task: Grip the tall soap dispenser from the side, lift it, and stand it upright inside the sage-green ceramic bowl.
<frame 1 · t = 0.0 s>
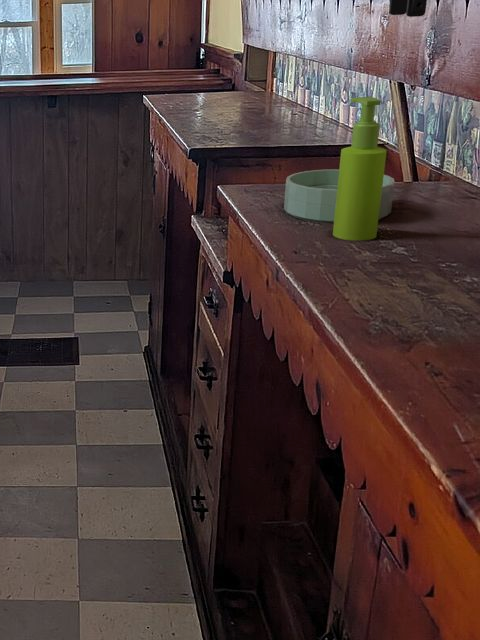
hand: (406, 15, 118), 30 cm above the worktop, tool pointing down, fingers open, 8 cm apart
bowl: (336, 212, 141), on the worktop
soap dispenser: (351, 241, 126), on the worktop
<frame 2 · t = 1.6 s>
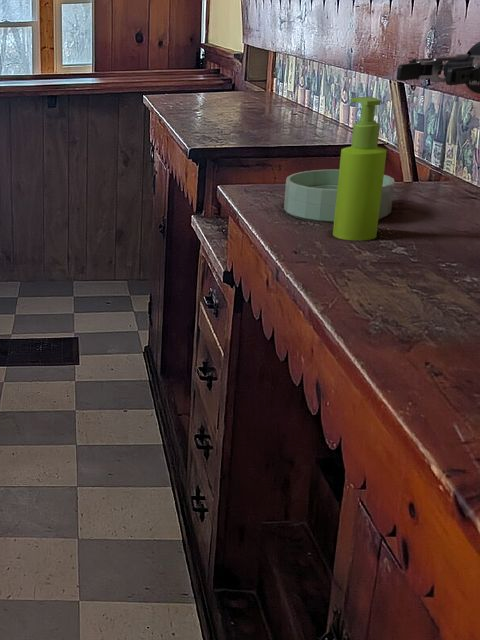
hand: (423, 74, 120), 22 cm above the worktop, tool horizontal, fingers open, 8 cm apart
nothing on the worktop moved.
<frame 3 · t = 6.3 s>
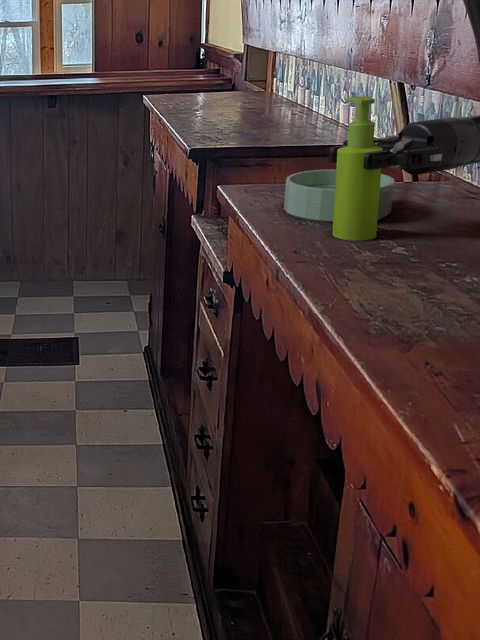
hand: (348, 158, 120), 12 cm above the worktop, tool horizontal, fingers closed on soap dispenser, 6 cm apart
soap dispenser: (352, 240, 126), on the worktop, touching gripper
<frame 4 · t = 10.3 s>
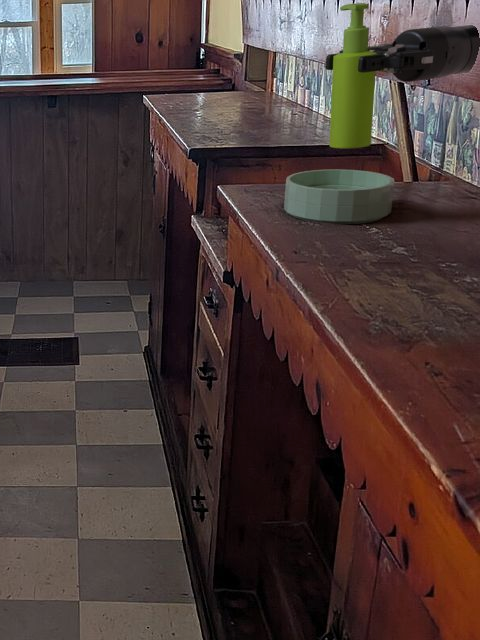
hand: (343, 63, 126), 24 cm above the worktop, tool horizontal, fingers closed on soap dispenser, 6 cm apart
soap dispenser: (348, 145, 132), point 12 cm above the worktop, touching gripper
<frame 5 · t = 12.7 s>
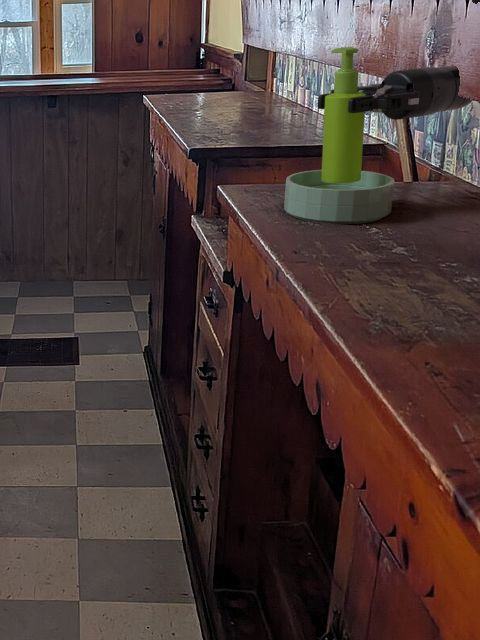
hand: (334, 104, 133), 17 cm above the worktop, tool horizontal, fingers closed on soap dispenser, 6 cm apart
soap dispenser: (339, 180, 139), point 5 cm above the worktop, touching gripper
when the fingers open (13 cm above the worktop, at t = 14.6 s): soap dispenser stays where it is, resting on bowl.
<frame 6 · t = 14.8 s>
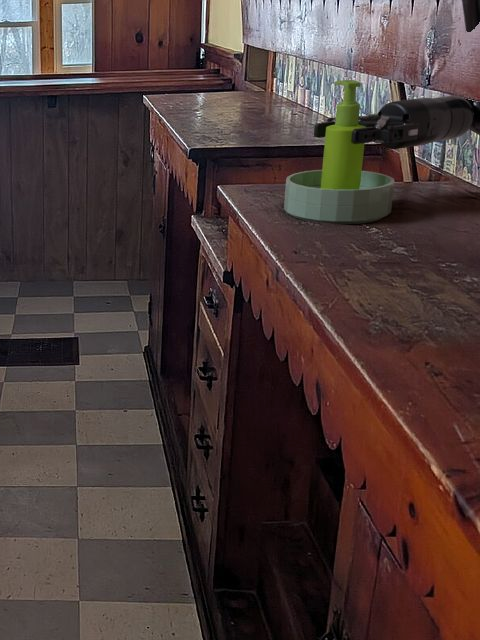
hand: (334, 133, 135), 13 cm above the worktop, tool horizontal, fingers open, 7 cm apart
soap dispenser: (336, 210, 141), resting on bowl
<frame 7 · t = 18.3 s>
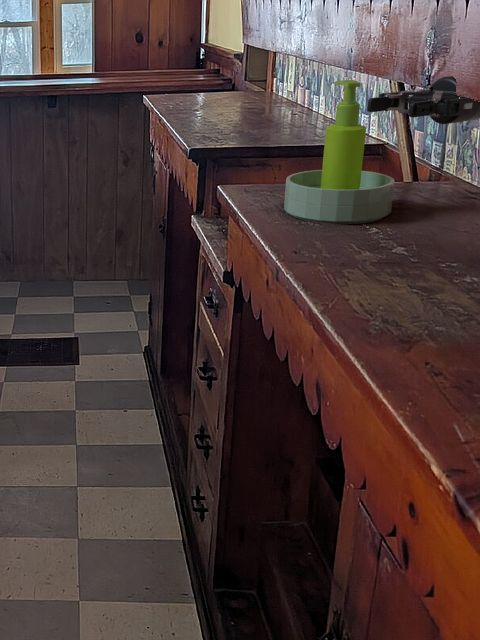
hand: (389, 107, 137), 16 cm above the worktop, tool horizontal, fingers open, 8 cm apart
nothing on the worktop moved.
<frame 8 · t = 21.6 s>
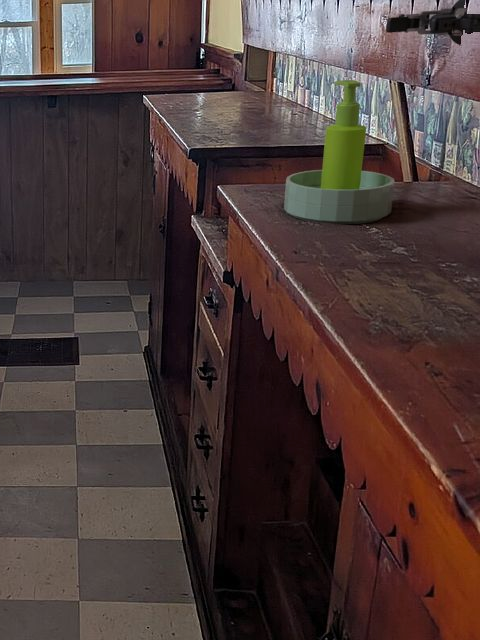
hand: (409, 25, 131), 28 cm above the worktop, tool horizontal, fingers open, 8 cm apart
nothing on the worktop moved.
at the end: soap dispenser inside the target area in the bowl (0.2 cm from its centre), point 0.4 cm above the bowl's base; soap dispenser tilted 0°; the gripper is holding nothing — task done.
